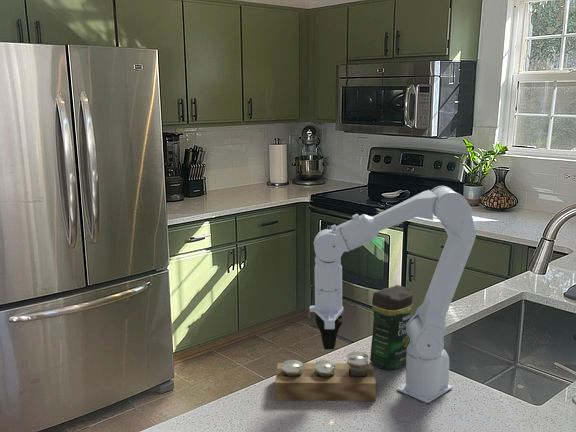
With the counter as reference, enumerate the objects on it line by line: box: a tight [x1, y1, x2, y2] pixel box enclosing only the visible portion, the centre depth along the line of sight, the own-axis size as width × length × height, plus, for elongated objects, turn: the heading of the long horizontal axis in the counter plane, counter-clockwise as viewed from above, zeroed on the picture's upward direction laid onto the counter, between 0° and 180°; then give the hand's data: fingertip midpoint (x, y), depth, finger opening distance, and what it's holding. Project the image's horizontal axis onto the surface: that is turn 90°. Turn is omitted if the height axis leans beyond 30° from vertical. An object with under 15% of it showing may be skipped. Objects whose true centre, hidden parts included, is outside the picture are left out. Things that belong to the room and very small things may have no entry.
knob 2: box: [346, 351, 369, 377], centre depth 120 cm, size 4×4×6 cm
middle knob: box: [314, 359, 335, 377], centre depth 121 cm, size 4×4×6 cm
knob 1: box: [282, 359, 303, 377], centre depth 122 cm, size 4×4×6 cm
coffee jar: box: [369, 284, 414, 371], centre depth 132 cm, size 10×8×19 cm
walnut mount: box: [274, 362, 377, 402], centre depth 121 cm, size 21×9×4 cm, turn 87°
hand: (329, 348), depth 120 cm, fingers closed
